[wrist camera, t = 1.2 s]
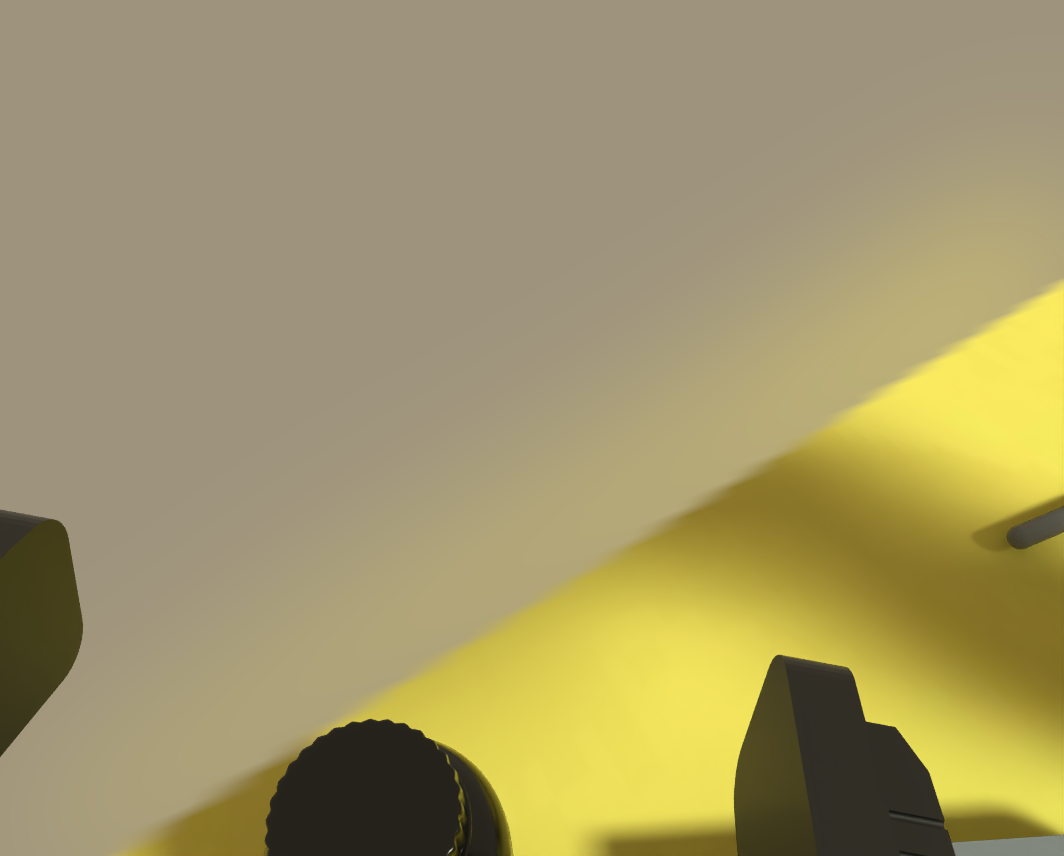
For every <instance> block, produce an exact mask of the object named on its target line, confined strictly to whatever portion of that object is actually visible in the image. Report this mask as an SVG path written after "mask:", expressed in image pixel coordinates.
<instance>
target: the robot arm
mask: <svg viewBox="0 0 1064 856" xmlns="http://www.w3.org/2000/svg"><path fill="white" fill-rule="evenodd" d="M82 633H83V623H82V615H81V609H80V603H79V597H78V591H77V586H76V580H75V574H74V568H73V563H72V556H71V551H70V544H69V539H68V535H67V531H66V529H65V527H64V526H63V525H62V523H60V522H59V521H57V520H54V519H48V518H43V517H37V516H32V515H26V514H20V513H16V512H10V511H5V510H0V757H1V755H2V754H3V753H4V752H5V751H6V749H7V748H8V747H9V746H10V744H11V743H12V742H13V741H14V739H15V738H16V737H17V736H18V735H19V733H20V732H21V731H22V730H23V729H24V727H25V726H26V725H27V724H28V723H29V721H30V720H31V719H32V718H33V716H34V715H35V714H36V713H37V712H38V710H39V709H40V708H41V706H42V705H43V704H44V703H45V702H46V701H47V699H48V698H49V697H50V696H51V694H52V693H53V692H54V691H55V690H56V688H57V687H58V686H59V685H60V684H61V682H62V681H63V680H64V678H65V677H66V676H67V674H68V673H69V671H70V670H71V668H72V666H73V664H74V662H75V659H76V657H77V655H78V652H79V648H80V644H81V640H82ZM734 814H735V826H736V839H737V851H738V856H956V855H955V852H954V849H953V845H952V842H951V839H950V836H949V833H948V830H944V817H943V814H942V811H941V808H940V805H939V802H938V799H937V796H936V792H935V789H934V786H933V783H932V780H931V777H930V774H929V771H928V770H927V769H926V767H925V766H924V765H923V763H922V762H921V761H920V759H919V758H918V757H917V755H916V754H915V753H914V751H913V750H912V749H911V747H910V746H909V745H908V743H907V742H906V741H905V739H904V738H903V737H902V735H901V734H900V733H899V731H898V730H897V729H896V727H892V726H886V725H881V724H876V723H870V722H866V721H865V717H864V714H863V710H862V706H861V702H860V698H859V694H858V690H857V687H856V683H855V679H854V676H853V674H852V672H851V671H850V670H849V668H847V667H843V666H837V665H832V664H826V663H821V662H815V661H810V660H805V659H799V658H794V657H788V656H783V655H777V656H775V657H774V659H773V660H772V662H771V664H770V667H769V669H768V672H767V675H766V678H765V681H764V684H763V687H762V689H761V692H760V695H759V698H758V701H757V704H756V707H755V710H754V713H753V716H752V718H751V721H750V724H749V727H748V730H747V733H746V736H745V739H744V742H743V745H742V748H741V751H740V755H739V759H738V764H737V770H736V777H735V788H734Z"/></svg>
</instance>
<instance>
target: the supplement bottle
mask: <svg viewBox="0 0 1064 856" xmlns="http://www.w3.org/2000/svg"><path fill="white" fill-rule="evenodd" d="M270 808H271V811H270V813H269V815H268V817H267V819H266V825H267V828H268V832H267V834H266V838H265V844H266V848H265V852H264V856H513V850H512V843H511V837H510V832H509V827H508V823H507V820H506V816H505V813H504V811H503V808H502V806H501V803H500V801H499V799H498V797H497V795H496V793H495V791H494V789H493V788H492V786H491V784H490V783H489V781H488V780H487V779H486V777H485V776H484V775H483V774H482V772H481V771H480V770H479V769H478V768H477V767H476V766H475V765H474V764H473V763H472V762H471V761H469V760H468V759H467V758H466V757H464V756H463V755H462V754H460V753H459V752H457V751H456V750H454V749H452V748H450V747H448V746H446V745H444V744H442V743H439V742H437V741H434V740H431V739H428V738H425V735H424V734H423V733H422V731H420V730H415V729H411V728H409V726H408V725H406V724H405V723H396V724H395V723H393V722H392V721H390V720H388V719H387V720H382V721H376V720H373V719H368V720H366V721H363V722H351V723H349V724H347V725H346V726H345V727H338V728H334V729H333V730H331V731H330V732H329V733H328V734H327V735H324V736H320V737H318V738H317V739H316V740H315V741H314V742H313V744H312V745H311V746H309V747H306V748H305V749H303V750H302V751H301V753H300V755H299V757H298V758H297V759H296V760H295V761H293V762H292V763H291V764H289V766H288V769H287V772H286V774H285V775H284V776H283V777H282V778H281V779H280V781H279V782H278V785H277V792H276V794H275V795H274V796H273V797H272V799H271V801H270Z"/></svg>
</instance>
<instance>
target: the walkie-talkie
mask: <svg viewBox="0 0 1064 856" xmlns="http://www.w3.org/2000/svg"><path fill="white" fill-rule="evenodd" d="M1063 532H1064V506H1063V507H1060V508H1058V509H1055V510H1053V511H1051V512H1048V513H1046V514H1044V515H1041V516H1039V517H1036V518H1034V519H1032V520H1029V521H1027V522H1025V523H1022V524H1020V525H1017V526H1015V527H1013V528H1011V529H1010V530H1009V531H1008V534H1007V540H1008V542H1009V544H1010V545H1011V546H1012V547H1013V548H1016V549H1025V548H1028V547H1030V546H1032V545H1035V544H1037V543H1039V542H1042V541H1044V540H1046V539H1049V538H1051V537H1053V536H1056V535H1058V534H1060V533H1063Z"/></svg>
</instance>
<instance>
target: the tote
mask: <svg viewBox="0 0 1064 856" xmlns="http://www.w3.org/2000/svg"><path fill="white" fill-rule="evenodd" d="M952 845H953V849H954V852H955V855H956V856H1064V835H1055V836H1040V837H1026V838H1011V839H997V840H982V841H968V842H953V843H952Z"/></svg>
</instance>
